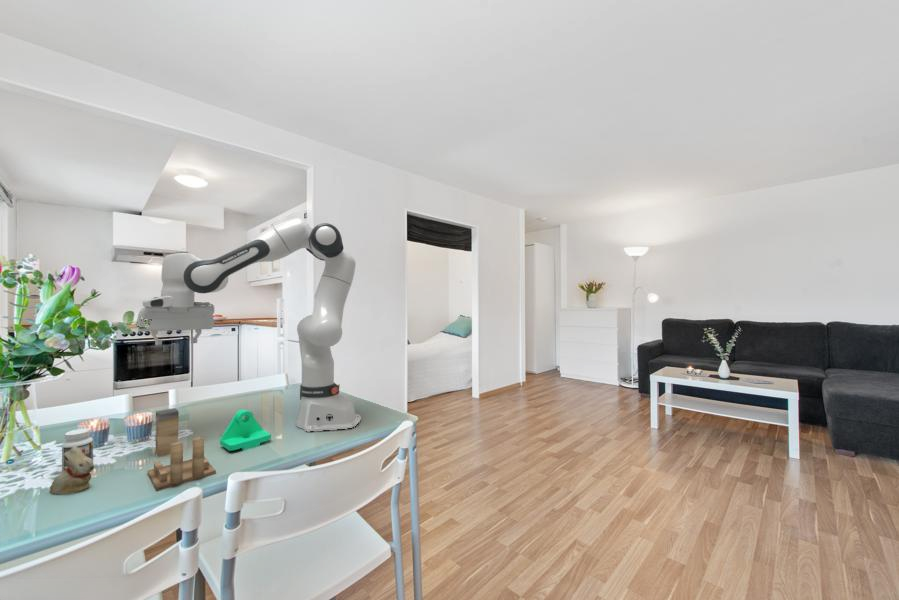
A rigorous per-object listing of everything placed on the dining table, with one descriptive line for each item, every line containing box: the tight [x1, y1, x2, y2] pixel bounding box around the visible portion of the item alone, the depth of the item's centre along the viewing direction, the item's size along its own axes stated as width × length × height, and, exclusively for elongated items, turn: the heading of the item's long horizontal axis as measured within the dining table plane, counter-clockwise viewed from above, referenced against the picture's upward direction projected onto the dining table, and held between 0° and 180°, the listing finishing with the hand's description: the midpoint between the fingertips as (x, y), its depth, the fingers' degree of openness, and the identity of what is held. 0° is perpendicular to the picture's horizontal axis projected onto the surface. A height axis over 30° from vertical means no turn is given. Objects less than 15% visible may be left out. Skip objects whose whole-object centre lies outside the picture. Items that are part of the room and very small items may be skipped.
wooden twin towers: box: [147, 436, 217, 492], centre depth 93 cm, size 13×12×10 cm
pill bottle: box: [61, 428, 94, 473], centre depth 95 cm, size 6×6×10 cm
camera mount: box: [219, 408, 272, 452], centre depth 113 cm, size 12×8×10 cm, turn 141°
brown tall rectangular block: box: [154, 407, 180, 458], centre depth 106 cm, size 4×4×12 cm
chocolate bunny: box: [49, 447, 95, 495], centre depth 85 cm, size 6×8×10 cm
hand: (176, 344), depth 120 cm, fingers open, 8 cm apart
